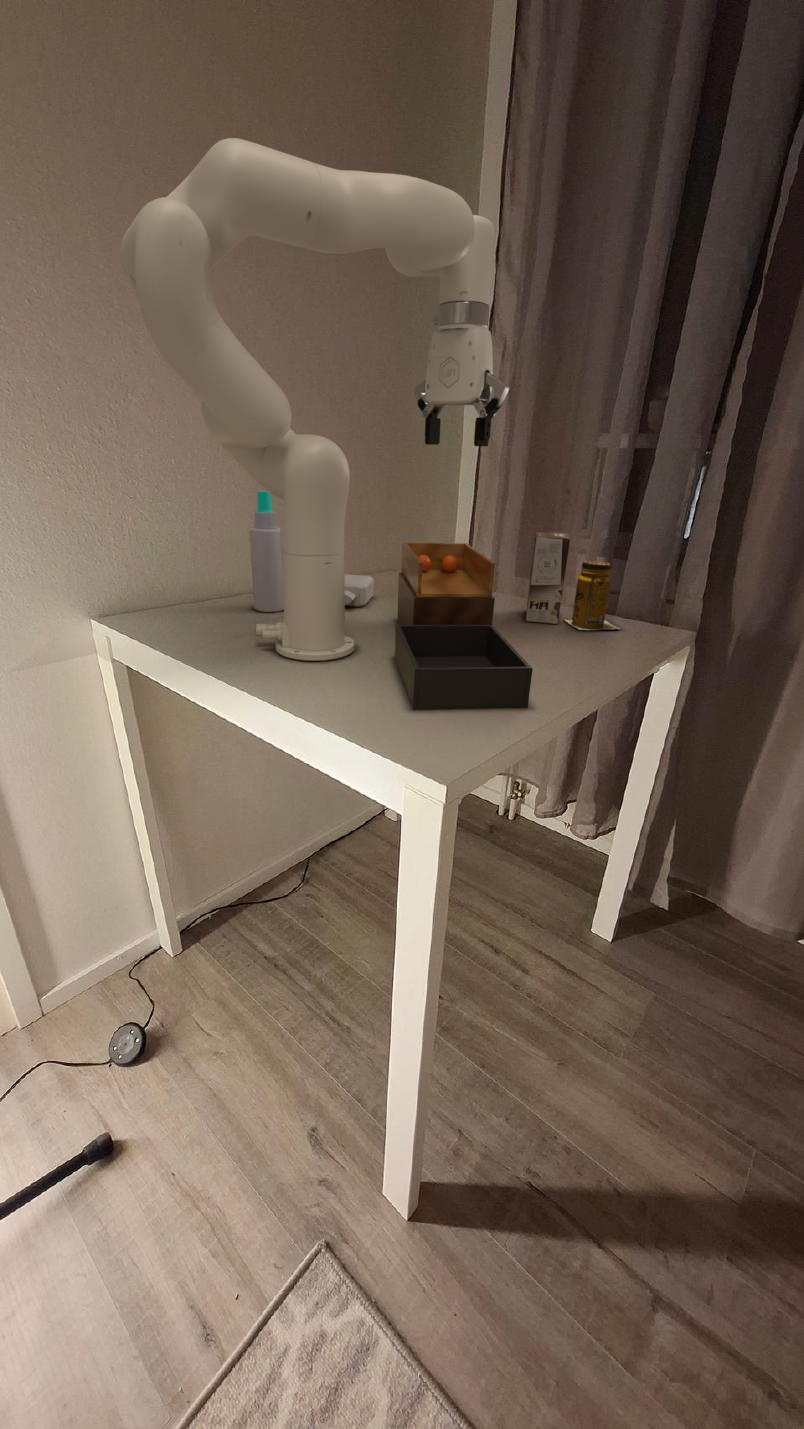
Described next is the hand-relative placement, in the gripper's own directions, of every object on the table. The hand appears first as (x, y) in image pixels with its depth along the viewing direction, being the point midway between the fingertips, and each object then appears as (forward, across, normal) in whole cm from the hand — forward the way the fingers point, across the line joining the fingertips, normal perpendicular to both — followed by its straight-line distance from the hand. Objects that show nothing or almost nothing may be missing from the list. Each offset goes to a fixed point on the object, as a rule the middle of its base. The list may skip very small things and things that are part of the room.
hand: (455, 445), depth 99 cm
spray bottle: (+31, -33, -13) cm, 47 cm away
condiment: (+31, +18, +24) cm, 43 cm away
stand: (+31, +1, -3) cm, 31 cm away
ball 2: (+20, -3, +4) cm, 20 cm away
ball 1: (+20, -6, 0) cm, 21 cm away
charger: (+31, -26, 0) cm, 41 cm away
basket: (+31, +16, -20) cm, 40 cm away
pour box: (+22, -1, -1) cm, 22 cm away
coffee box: (+31, +8, +22) cm, 39 cm away
